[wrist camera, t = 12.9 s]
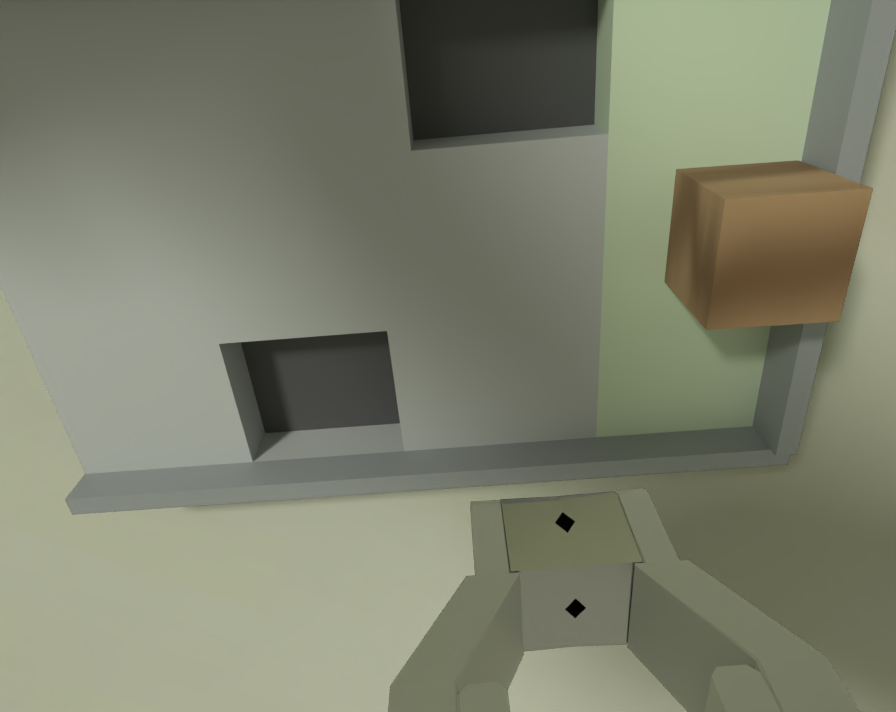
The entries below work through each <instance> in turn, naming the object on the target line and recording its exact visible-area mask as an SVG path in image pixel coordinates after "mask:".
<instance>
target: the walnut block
mask: <svg viewBox="0 0 896 712" xmlns="http://www.w3.org/2000/svg"><path fill="white" fill-rule="evenodd" d="M872 191H873V188H870V187H867V186H865V185H862V184H860V183H857V182H854V181H852V180H849V179H846V178H844V177H841V176H838V175H836V174H833V173H830V172H828V171H825V170H823V169H820V168H817V167H815V166H812V165H809V164H807V163H804V162H801V161H799V160H795V161H781V162H767V163H753V164H740V165H726V166H712V167H698V168H684V169H676V175H675V184H674V194H673V204H672V213H671V223H670V233H669V243H668V252H667V262H666V272H665V281H664V282H665V283H666V284H667V286H668V287H669V288H670V289H671V290H672V291H673V292H674V294H675V295H676V296H677V297H678V298H679V299H680V300H681V302H682V303H683V304H684V305H685V306H686V307H687V309H688V310H689V311H690V312H691V313H692V314H693V315H694V317H695V318H696V319H697V320H698V321H699V322H700V323H701V325H702V326H703V327H704V328H705V329H706V330H717V329H732V328H747V327H762V326H777V325H792V324H807V323H822V322H837V321H839V320H840V316H841V312H842V308H843V305H844V301H845V297H846V293H847V289H848V285H849V281H850V277H851V273H852V269H853V265H854V261H855V257H856V253H857V250H858V246H859V242H860V238H861V234H862V230H863V226H864V222H865V218H866V214H867V210H868V206H869V202H870V198H871V194H872Z"/></svg>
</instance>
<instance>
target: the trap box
mask: <svg viewBox="0 0 896 712" xmlns="http://www.w3.org/2000/svg"><path fill="white" fill-rule="evenodd" d="M895 30H896V0H0V288H1V290H2V292H3V294H4V296H5V299H6V301H7V303H8V305H9V307H10V310H11V312H12V314H13V316H14V318H15V321H16V323H17V325H18V327H19V329H20V332H21V334H22V336H23V338H24V340H25V343H26V345H27V347H28V349H29V351H30V354H31V356H32V358H33V360H34V362H35V365H36V367H37V369H38V371H39V373H40V376H41V378H42V380H43V382H44V384H45V387H46V389H47V391H48V393H49V395H50V398H51V400H52V402H53V404H54V406H55V409H56V411H57V413H58V415H59V417H60V420H61V422H62V424H63V426H64V428H65V431H66V433H67V435H68V437H69V439H70V442H71V444H72V446H73V448H74V450H75V453H76V455H77V457H78V459H79V461H80V464H81V466H82V468H83V470H84V472H85V475H84V476H83V477H82V479H81V480H80V481H79V482H78V484H77V485H76V486H75V487H74V489H73V490H72V491H71V493H70V494H69V495H68V496H67V498H66V499H65V501H66V503H67V505H68V507H69V509H70V511H71V513H72V515H74V514H88V513H103V512H117V511H131V510H146V509H160V508H174V507H189V506H203V505H217V504H232V503H246V502H260V501H275V500H289V499H303V498H318V497H332V496H346V495H361V494H375V493H389V492H404V491H418V490H432V489H447V488H461V487H475V486H490V485H504V484H518V483H533V482H547V481H561V480H576V479H590V478H604V477H619V476H633V475H647V474H662V473H676V472H690V471H705V470H719V469H733V468H748V467H762V466H777V465H788V462H789V457H790V455H797V452H798V447H799V443H800V439H801V434H802V430H803V426H804V421H805V417H806V413H807V409H808V404H809V400H810V396H811V391H812V387H813V383H814V378H815V374H816V370H817V366H818V361H819V357H820V353H821V348H822V344H823V340H824V335H825V331H826V327H827V323H828V322H822V323H807V324H792V325H777V326H762V327H747V328H732V329H717V330H706V329H705V328H704V327H703V326H702V325H701V323H700V322H699V321H698V320H697V319H696V318H695V317H694V315H693V314H692V313H691V312H690V311H689V310H688V309H687V307H686V306H685V305H684V304H683V303H682V302H681V300H680V299H679V298H678V297H677V296H676V295H675V294H674V292H673V291H672V290H671V289H670V288H669V287H668V286H667V284H666V283H665V282H664V281H665V272H666V262H667V252H668V243H669V233H670V223H671V213H672V204H673V194H674V184H675V175H676V169H684V168H698V167H712V166H726V165H740V164H753V163H767V162H781V161H795V160H799V161H801V162H804V163H807V164H809V165H812V166H815V167H817V168H820V169H823V170H825V171H828V172H830V173H833V174H836V175H838V176H841V177H844V178H846V179H849V180H852V181H854V182H857V183H860V181H861V176H862V172H863V168H864V163H865V159H866V155H867V151H868V146H869V142H870V138H871V133H872V129H873V125H874V120H875V116H876V112H877V108H878V103H879V99H880V95H881V90H882V86H883V82H884V77H885V73H886V69H887V65H888V60H889V56H890V52H891V47H892V43H893V39H894V34H895Z"/></svg>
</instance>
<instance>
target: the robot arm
mask: <svg viewBox="0 0 896 712" xmlns="http://www.w3.org/2000/svg"><path fill="white" fill-rule="evenodd" d="M470 512H471V526H472V540H473V555H474V569H475V575H474V576H466V577H465V579H464V580H463V582H462V583H461V585H460V586H459V587H458V589H457V590H456V592H455V593H454V595H453V596H452V598H451V599H450V600H449V602H448V603H447V605H446V606H445V608H444V609H443V610H442V612H441V613H440V615H439V616H438V618H437V619H436V621H435V622H434V623H433V625H432V626H431V628H430V629H429V631H428V632H427V634H426V635H425V636H424V638H423V639H422V641H421V642H420V644H419V645H418V647H417V648H416V649H415V651H414V652H413V654H412V655H411V657H410V658H409V659H408V661H407V662H406V664H405V665H404V667H403V668H402V670H401V671H400V672H399V674H398V675H397V677H396V678H395V680H394V681H393V683H392V684H391V685H390V693H389V706H388V712H510V706H509V698H508V688H509V686H510V684H511V682H512V680H513V677H514V675H515V673H516V671H517V668H518V666H519V664H520V662H521V660H522V657H523V655H524V653H523V652H524V651H534V650H544V649H554V648H564V647H575V646H599V645H623V644H628V646H627V647H628V648H629V649H630V650H631V651H632V652H633V653H634V655H635V656H636V657H637V658H638V659H639V660H640V661H641V662H642V663H643V664H644V665H645V666H646V667H647V668H648V670H649V671H650V672H651V673H652V674H653V675H654V676H655V677H656V678H657V679H658V680H659V681H660V682H661V684H662V685H663V686H664V687H665V688H666V689H667V690H668V691H669V692H670V693H671V694H672V695H673V696H674V698H675V699H676V700H677V701H678V702H679V703H680V704H681V705H682V706H683V707H684V708H685V709H686V710H687V711H688V712H860V711H859V709H858V707H857V706H856V704H855V703H854V701H853V699H852V698H851V696H850V694H849V693H848V691H847V689H846V688H845V686H844V685H843V683H842V681H841V680H840V678H839V676H838V675H837V673H836V671H835V670H834V668H833V667H832V665H831V663H830V662H829V660H828V658H827V657H826V656H824V655H823V654H822V653H820V652H819V651H817V650H816V649H814V648H813V647H812V646H810V645H809V644H807V643H806V642H805V641H803V640H802V639H800V638H799V637H797V636H796V635H795V634H793V633H792V632H790V631H789V630H787V629H786V628H785V627H783V626H782V625H780V624H779V623H777V622H776V621H775V620H773V619H772V618H770V617H769V616H768V615H766V614H765V613H763V612H762V611H760V610H759V609H758V608H756V607H755V606H753V605H752V604H750V603H749V602H748V601H746V600H745V599H743V598H742V597H740V596H739V595H738V594H736V593H735V592H733V591H732V590H731V589H729V588H728V587H726V586H725V585H723V584H722V583H721V582H719V581H718V580H716V579H715V578H713V577H712V576H711V575H709V574H708V573H706V572H705V571H704V570H702V569H701V568H699V567H698V566H696V565H695V564H694V563H692V562H691V561H689V560H679V559H678V556H677V554H676V552H675V550H674V548H673V545H672V543H671V541H670V539H669V537H668V535H667V532H666V530H665V528H664V526H663V524H662V521H661V519H660V517H659V515H658V513H657V510H656V508H655V506H654V504H653V502H652V499H651V497H650V495H649V493H648V491H646V490H645V489H644V488H641V489H631V490H620V491H615V492H602V493H590V494H578V495H566V496H555V497H536V498H517V499H500V501H499V500H491V501H471V506H470Z"/></svg>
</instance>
